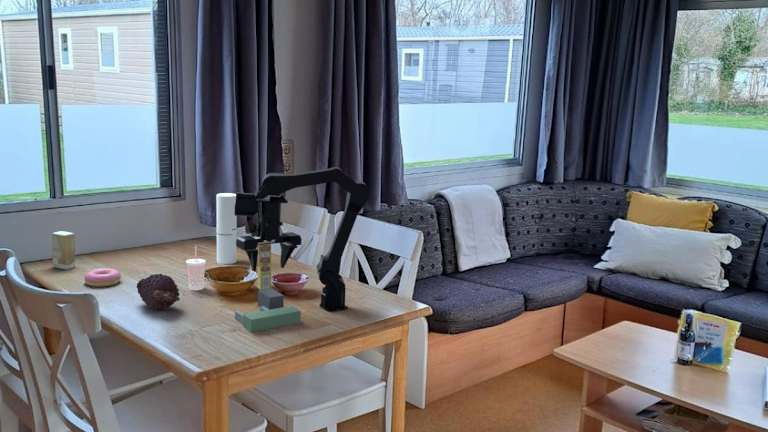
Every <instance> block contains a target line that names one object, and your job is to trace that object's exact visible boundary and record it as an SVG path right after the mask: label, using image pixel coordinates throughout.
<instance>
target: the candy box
mask: <svg viewBox="0 0 768 432" xmlns="http://www.w3.org/2000/svg"><path fill="white" fill-rule="evenodd" d="M254 238H255V239H257V238H258V237H254ZM256 249H257V250H258V258H257V267H256V271H254V272H256V273H257V274H258V278H257V280H256V282H255V284H254V285H253V286H255V287H256V288H257V289H258V290H263V289H270V288H272V244H264V245H258V247H257V248H256ZM250 270H252V267H251V264H250V263H249V271H250ZM252 271H253V270H252Z"/></svg>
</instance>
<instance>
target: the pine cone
mask: <svg viewBox="0 0 768 432" xmlns="http://www.w3.org/2000/svg"><path fill="white" fill-rule="evenodd" d="M136 288H137V294H139V297H140V298H141V301H142V302H144V304H145V306H147V307H149V308H150V309H156V310H159V309H161V310H167V309H169V308H170V307H171V306H173V305H174V304H175V303H176V302H178V301H180V300H181V298H180V293H179V290H180V289H179V288H178V285H177V284H176V283H175V280H173V278H172V277H171V276H170V275H167V274H162V273H155V274H150V275H149V276H148V277H146V278H141V280H139V281H138V282H137V283H136Z"/></svg>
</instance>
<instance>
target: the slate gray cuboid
mask: <svg viewBox="0 0 768 432" xmlns="http://www.w3.org/2000/svg"><path fill="white" fill-rule="evenodd" d="M284 300H285V299H284V295H283V293H280V292H279V291H277V290H275V288H272V287H271V288H268V289H262V290H260V289H258V290H257V307H259V308H260V307H261V306H265V307H266V308H268V309H269V310H271V309H277V308H283V307H284V304H285V303H284Z"/></svg>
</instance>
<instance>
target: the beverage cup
mask: <svg viewBox="0 0 768 432" xmlns="http://www.w3.org/2000/svg"><path fill="white" fill-rule="evenodd" d="M197 247H198V246H197V245H195V246H194V258H190V259H187V260H186V261H185V263H186V268H187V269H186V270H187V281H188V282H187V283H188V290H190V291H199V290H203V289H204V287H205V286H204V285H205V268H206V264H207V262H206V259H203V258H197V256H198V255H197V253H198V252H197V249H198V248H197Z"/></svg>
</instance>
